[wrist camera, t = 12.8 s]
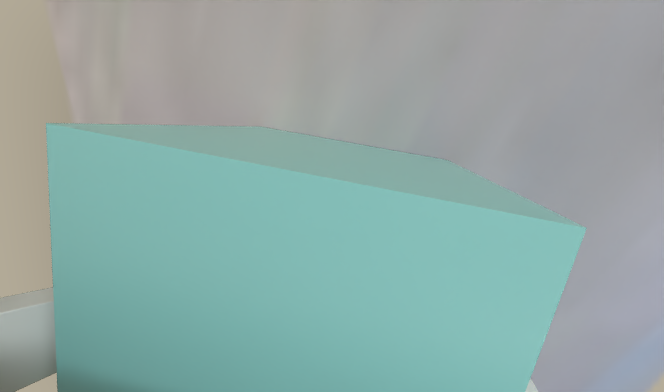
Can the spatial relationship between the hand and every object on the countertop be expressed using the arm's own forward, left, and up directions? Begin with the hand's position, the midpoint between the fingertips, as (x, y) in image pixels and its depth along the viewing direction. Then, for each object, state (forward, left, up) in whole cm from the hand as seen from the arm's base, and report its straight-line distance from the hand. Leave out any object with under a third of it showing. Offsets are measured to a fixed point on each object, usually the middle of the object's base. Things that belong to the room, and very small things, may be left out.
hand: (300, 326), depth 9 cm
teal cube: (-1, 0, -6) cm, 6 cm away
